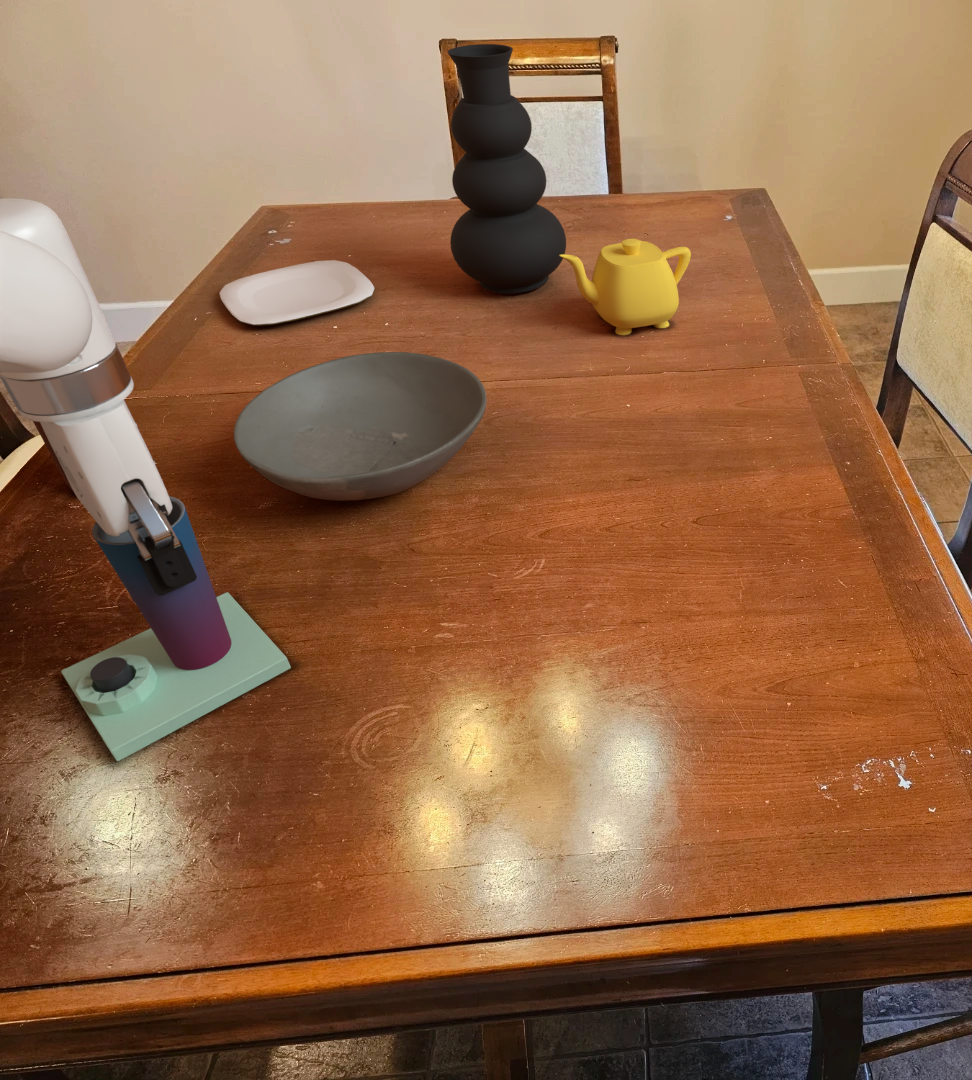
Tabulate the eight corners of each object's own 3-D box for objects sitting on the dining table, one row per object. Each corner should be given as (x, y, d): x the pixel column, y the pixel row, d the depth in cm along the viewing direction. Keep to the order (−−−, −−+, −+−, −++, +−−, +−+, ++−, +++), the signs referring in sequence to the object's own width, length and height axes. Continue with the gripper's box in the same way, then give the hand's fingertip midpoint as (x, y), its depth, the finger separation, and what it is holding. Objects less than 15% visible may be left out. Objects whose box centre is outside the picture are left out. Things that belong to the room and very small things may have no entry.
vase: (449, 272, 158) (404, 44, 136) (553, 256, 164) (527, 34, 142) (471, 314, 145) (426, 68, 123) (584, 294, 151) (560, 56, 129)
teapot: (557, 314, 145) (547, 236, 137) (677, 294, 151) (674, 217, 143) (580, 350, 135) (571, 268, 127) (707, 327, 141) (706, 247, 133)
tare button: (103, 698, 79) (96, 685, 78) (92, 681, 80) (85, 668, 79) (138, 680, 80) (131, 668, 79) (127, 664, 82) (119, 652, 81)
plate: (344, 263, 162) (341, 253, 161) (388, 304, 148) (386, 294, 147) (212, 293, 152) (209, 283, 151) (247, 340, 138) (243, 330, 137)
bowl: (203, 492, 107) (176, 431, 102) (384, 389, 126) (370, 333, 121) (371, 568, 96) (351, 504, 91) (542, 443, 115) (533, 384, 110)
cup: (143, 670, 83) (71, 537, 74) (195, 619, 88) (133, 490, 79) (209, 683, 81) (144, 550, 72) (257, 631, 87) (202, 501, 77)
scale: (117, 762, 76) (102, 738, 75) (67, 681, 84) (52, 657, 82) (291, 668, 85) (281, 644, 83) (232, 602, 92) (222, 579, 90)
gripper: (-22, 358, 70) (81, 544, 81) (48, 442, 61) (153, 640, 72) (86, 327, 74) (169, 508, 86) (167, 401, 65) (248, 594, 76)
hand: (161, 566), depth 79 cm, fingers closed on cup, 6 cm apart
